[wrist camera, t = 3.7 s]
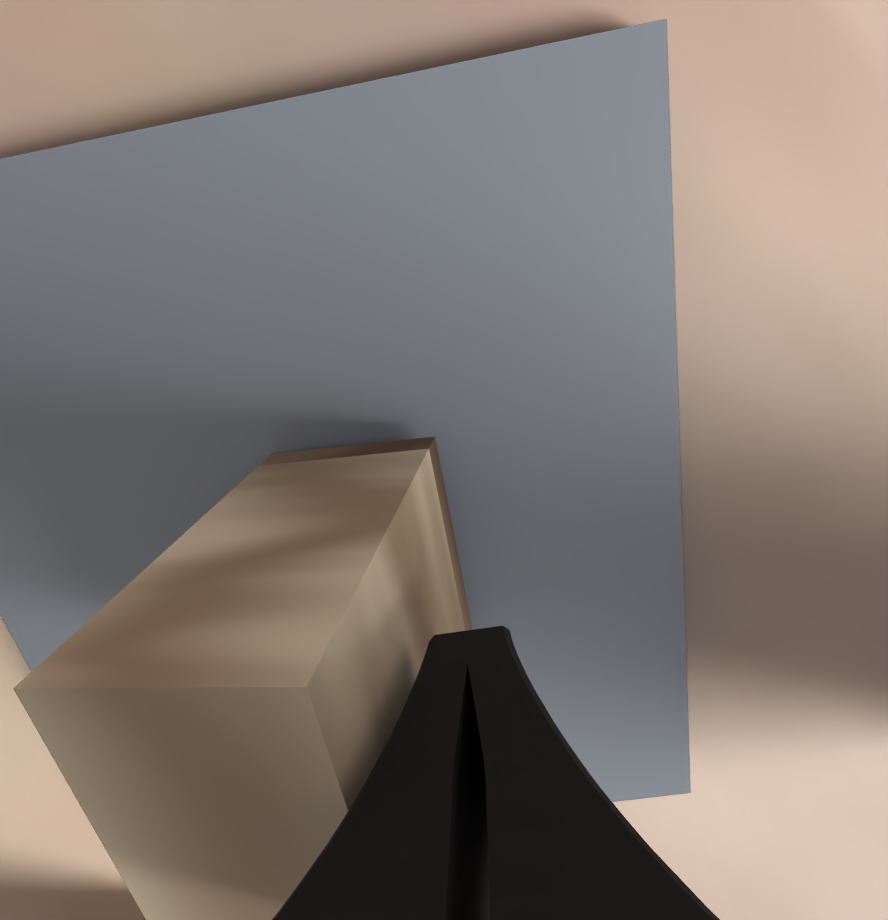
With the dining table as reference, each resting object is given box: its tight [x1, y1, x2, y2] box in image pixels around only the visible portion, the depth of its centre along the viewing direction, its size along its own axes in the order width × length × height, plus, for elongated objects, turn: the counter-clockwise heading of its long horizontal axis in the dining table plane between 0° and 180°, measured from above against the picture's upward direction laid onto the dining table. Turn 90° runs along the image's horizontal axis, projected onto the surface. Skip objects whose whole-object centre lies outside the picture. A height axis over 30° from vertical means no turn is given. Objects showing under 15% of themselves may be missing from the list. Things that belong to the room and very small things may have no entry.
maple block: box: [13, 437, 473, 920], centre depth 12 cm, size 4×6×8 cm, turn 11°
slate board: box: [0, 19, 691, 802], centre depth 16 cm, size 18×20×1 cm
